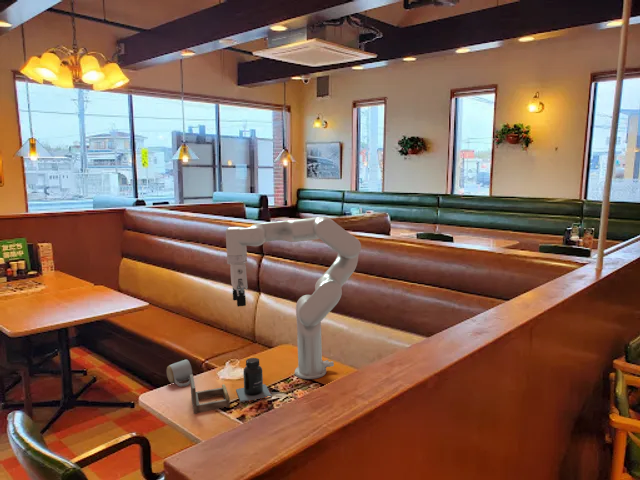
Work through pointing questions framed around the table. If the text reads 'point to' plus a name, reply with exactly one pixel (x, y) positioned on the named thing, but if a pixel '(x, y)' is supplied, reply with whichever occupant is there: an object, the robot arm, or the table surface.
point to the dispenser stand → (207, 394)
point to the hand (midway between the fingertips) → (239, 302)
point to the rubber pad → (245, 397)
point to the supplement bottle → (253, 377)
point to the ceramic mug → (179, 372)
